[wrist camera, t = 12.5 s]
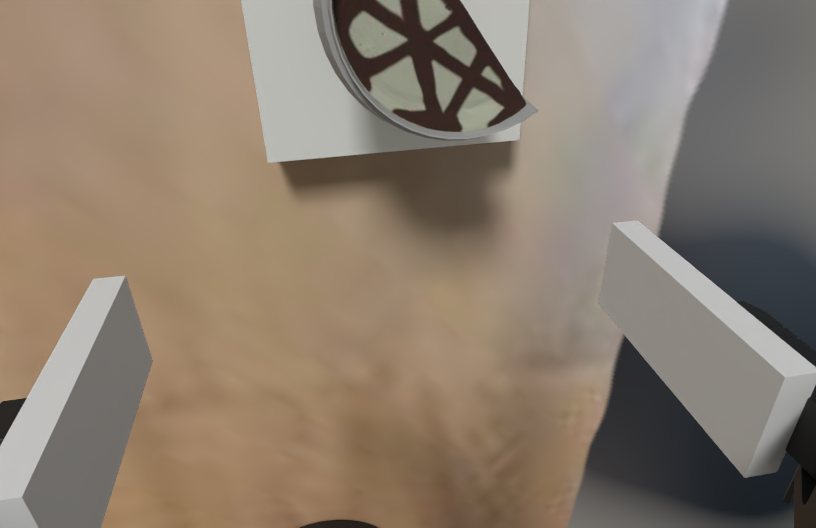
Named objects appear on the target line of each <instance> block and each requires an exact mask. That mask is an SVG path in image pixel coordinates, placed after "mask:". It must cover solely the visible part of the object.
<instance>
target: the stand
mask: <svg viewBox="0 0 816 528" xmlns="http://www.w3.org/2000/svg"><path fill="white" fill-rule="evenodd" d="M460 1H461V2H462V3H463V5H464V7H465V8H466V10H467V11H468V13H469V15H470V16H471V18H472V20H473V21H474V23H475V24H476V26H477V28H478V29H479V31H480V32H481V34H482V36H483V37H484V39H485V40H486V42H487V43H488V45H489V47H490V48H491V50H492V51H493V53H494V54H495V56H496V57H497V59H498V61H499V62H500V64H501V65H502V67H503V68H504V70H505V72H506V73H507V75H508V76H509V78H510V79H511V81H512V82H513V84H514V85H515V86H516V87H517V89H518V90H519V91H520V93H521V95H522V96H523V83H524V69H525V56H526V42H527V28H528V15H529V1H530V0H460ZM241 2H242V8H243V14H244V20H245V27H246V33H247V39H248V45H249V51H250V57H251V63H252V69H253V75H254V81H255V87H256V93H257V99H258V105H259V111H260V117H261V123H262V129H263V135H264V141H265V148H266V154H267V160H268V163H271V162H282V161H293V160H304V159H315V158H326V157H338V156H349V155H360V154H371V153H382V152H393V151H404V150H415V149H426V148H437V147H448V146H459V145H470V144H481V143H492V142H503V141H514V140H519V137H520V124H521V122H520V123H518V124H516V125H514V126H512V127H510V128H508V129H506V130H503V131H500V132H497V133H494V134H491V135H488V136H485V137H481V138H475V139H468V140H452V141H443V140H436V139H430V138H424V137H421V136H418V135H414V134H411V133H408V132H405V131H403V130H401V129H399V128H397V127H395V126H393V125H391V124H389V123H387V122H385V121H383V120H381V119H379V118H378V117H377V116H375V115H374V114H373V113H371V112H370V111H369V110H367V109H366V108H364V107H363V106H362V105H361V104H360V103H359V102H358V101H357V100H356V99H355V98H354V97H353V96H352V95H351V94H350V93H349V92H348V90H347V89H346V87H345V86H344V85H343V83H342V82H341V81H340V79H339V78H338V76H337V75H336V74H335V72H334V70H333V68H332V66H331V64H330V62H329V60H328V58H327V56H326V54H325V51H324V48H323V45H322V42H321V39H320V36H319V33H318V30H317V25H316V19H315V13H314V8H313V0H241Z"/></svg>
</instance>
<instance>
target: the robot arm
mask: <svg viewBox="0 0 816 528" xmlns="http://www.w3.org/2000/svg"><path fill="white" fill-rule="evenodd" d="M598 304H599V305H600V306H601V307H602V309H603V310H604V311H605V312H606V313H607V315H608V316H609V317H610V318H611V319H612V320H613V322H614V323H615V324H616V325H617V326H618V328H619V329H620V330H621V331H622V332H623V334H624V335H625V336H626V337H627V338H628V340H629V341H630V342H631V343H632V344H633V345H634V347H635V348H636V349H637V350H638V351H639V353H640V354H641V355H642V356H643V357H644V359H645V360H646V361H647V362H648V363H649V365H650V366H651V367H652V368H653V369H654V370H655V372H656V373H657V374H658V375H659V376H660V378H661V379H662V380H663V381H664V382H665V384H666V385H667V386H668V387H669V388H670V389H671V391H672V392H673V393H674V394H675V395H676V397H677V398H678V399H679V400H680V401H681V403H682V404H683V405H684V406H685V407H686V409H687V410H688V411H689V412H690V413H691V415H692V416H693V417H694V418H695V419H696V420H697V422H698V423H699V424H700V425H701V426H702V427H703V429H704V430H705V431H706V432H707V433H708V435H709V436H710V437H711V438H712V439H713V441H714V442H715V443H716V444H717V445H718V447H719V448H720V449H721V450H722V451H723V453H724V454H725V455H726V456H727V457H728V459H729V460H730V461H731V462H732V463H733V465H734V466H735V467H736V468H737V469H738V470H739V472H740V473H741V474H742V475H743V476H744V478H746V477H751V476H757V475H763V474H768V473H774V472H777V471H778V469H779V466H780V464H781V462H782V460H783V457H784V455H785V453H786V451H787V452H788V453H789V454H790V455H791V456H792V457H793V458H794V459H795V460H796V461H797V462H798V463H799V466H798V468H797V470H796V472H795V475H794V477H793V479H792V481H791V483H790V485H789V488H788V490H787V492H786V494H785V497H784V499H783V501H784V502H786V503H788V504H789V502H790V500H791V498H792V496H794V528H816V351H815V350H814V349H812V348H811V347H810V346H808V345H807V344H806V343H805V342H803V341H802V340H801V339H797V336H796V335H795V334H793V333H792V332H791V331H789V330H788V329H787V328H783V325H782V324H780V323H779V322H778V321H777V320H776V319H774V318H773V317H772V316H771V315H769V314H768V313H767V312H765V311H763V310H761V309H759V308H757V307H755V306H753V305H751V304H749V303H747V302H744V301H740V302H736V301H735V300H733V299H732V298H731V297H730V296H728V295H727V294H726V293H725V292H724V291H722V290H721V289H720V288H719V287H717V286H716V285H715V284H714V283H713V282H711V281H710V280H709V279H708V278H707V277H705V276H704V275H703V274H702V273H700V272H699V271H698V270H697V269H695V268H694V267H693V266H692V265H691V264H689V263H688V262H687V261H686V260H684V259H683V258H682V257H681V256H680V255H679V254H677V253H676V252H675V251H674V250H672V249H671V248H670V247H669V246H668V245H666V244H665V243H664V242H663V241H662V240H660V239H659V238H658V237H657V236H655V235H654V234H653V233H652V232H651V231H649V230H648V229H647V228H646V227H644V226H643V225H642V224H641V223H640V222H638V221H629V222H619V223H612V228H611V234H610V239H609V245H608V251H607V257H606V262H605V268H604V274H603V280H602V285H601V291H600V297H599V303H598ZM152 362H153V360H152V357H151V354H150V351H149V348H148V344H147V341H146V338H145V335H144V332H143V329H142V326H141V322H140V319H139V316H138V313H137V310H136V307H135V304H134V300H133V297H132V294H131V291H130V288H129V285H128V282H127V278H126V276H117V277H108V278H98V279H93V280H92V282H91V284H90V286H89V288H88V289H87V291H86V293H85V295H84V296H83V298H82V300H81V302H80V304H79V305H78V307H77V309H76V311H75V313H74V314H73V316H72V318H71V320H70V322H69V323H68V325H67V327H66V329H65V331H64V332H63V334H62V336H61V338H60V340H59V341H58V343H57V345H56V347H55V348H54V350H53V352H52V354H51V356H50V357H49V359H48V361H47V363H46V365H45V366H44V368H43V370H42V372H41V374H40V375H39V377H38V379H37V381H36V383H35V384H34V386H33V388H32V390H31V392H30V393H29V395H28V397H27V398H24V399H17V400H9V401H3V402H2V403H0V528H101V525H102V522H103V519H104V515H105V512H106V509H107V506H108V503H109V499H110V496H111V493H112V490H113V487H114V483H115V480H116V477H117V474H118V471H119V467H120V464H121V461H122V458H123V455H124V451H125V448H126V445H127V442H128V439H129V435H130V432H131V429H132V426H133V423H134V419H135V416H136V413H137V410H138V407H139V403H140V400H141V397H142V394H143V391H144V387H145V384H146V381H147V378H148V375H149V371H150V368H151V365H152ZM301 528H376V527H374V526H372V525H369V524H365V523H361V522H356V521H345V520H336V521H325V522H319V523H314V524H310V525H307V526H304V527H301Z"/></svg>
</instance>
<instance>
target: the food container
mask: <svg viewBox="0 0 816 528" xmlns="http://www.w3.org/2000/svg"><path fill="white" fill-rule="evenodd" d="M313 8H314V13H315V19H316V25H317V30H318V33H319V36H320V39H321V42H322V45H323V48H324V51H325V54H326V56H327V58H328V60H329V62H330V64H331V66H332V68H333V70H334V72H335V74H336V75H337V76H338V78H339V79H340V81H341V82H342V83H343V85H344V86H345V87H346V89H347V90H348V92H349V93H350V94H351V95H352V96H353V97H354V98H355V99H356V100H357V101H358V102H359V103H360V104H361V105H362V106H363V107H364V108H366V109H367V110H369V111H370V112H371V113H373V114H374V115H375V116H377V117H378V118H379V119H381V120H383V121H385V122H387V123H389V124H391V125H393V126H395V127H397V128H399V129H401V130H403V131H405V132H408V133H411V134H414V135H418V136H421V137H424V138H430V139H436V140H443V141H452V140H468V139H475V138H481V137H485V136H488V135H491V134H494V133H497V132H500V131H503V130H506V129H508V128H510V127H512V126H514V125H516V124H518V123H520V122H522V121H524V120H525V119H527V118H528V117H530V116H531V115H533V114H534V113H536V112H537V111H538V109H536V108H535V107H534V106H533V105H532V104H531V103H530V102H528V101H527V100H526V99H525V98H524V97H523V96H522V95H521V93H520V91H519V90H518V89H517V87H516V86H515V85H514V84H513V82H512V81H511V79H510V78H509V76H508V75H507V73H506V72H505V70H504V68H503V67H502V65H501V64H500V62H499V61H498V59H497V57H496V56H495V54H494V53H493V51H492V50H491V48H490V47H489V45H488V43H487V42H486V40H485V39H484V37H483V36H482V34H481V32H480V31H479V29H478V28H477V26H476V24H475V23H474V21H473V20H472V18H471V16H470V15H469V13H468V11H467V10H466V8H465V7H464V5H463V3H462V2H461V1H460V0H313Z"/></svg>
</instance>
